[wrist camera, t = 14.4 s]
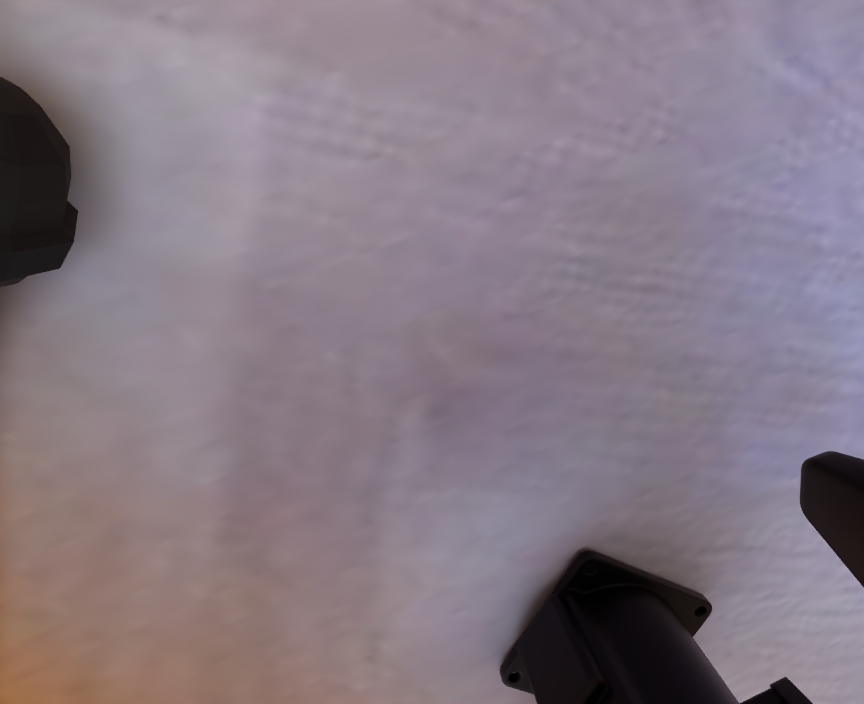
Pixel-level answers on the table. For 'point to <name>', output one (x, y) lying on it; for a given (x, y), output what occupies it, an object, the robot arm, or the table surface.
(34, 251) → the microphone
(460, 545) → the table surface
